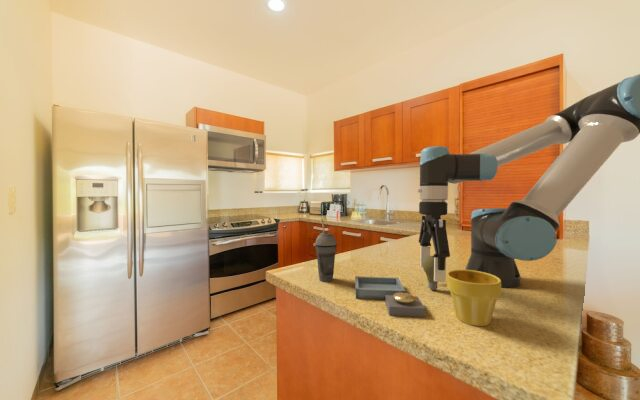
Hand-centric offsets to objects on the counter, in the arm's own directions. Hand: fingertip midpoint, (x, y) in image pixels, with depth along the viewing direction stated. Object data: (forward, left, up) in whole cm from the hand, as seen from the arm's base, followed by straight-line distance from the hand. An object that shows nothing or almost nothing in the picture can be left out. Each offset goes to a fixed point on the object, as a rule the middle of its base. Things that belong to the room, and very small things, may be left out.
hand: (431, 273), depth 75 cm
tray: (+16, +3, -5) cm, 17 cm away
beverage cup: (+32, -6, -5) cm, 33 cm away
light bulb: (0, 0, -5) cm, 5 cm away
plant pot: (-4, +17, -5) cm, 18 cm away
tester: (+11, +14, -5) cm, 18 cm away
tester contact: (+11, +14, -2) cm, 18 cm away
